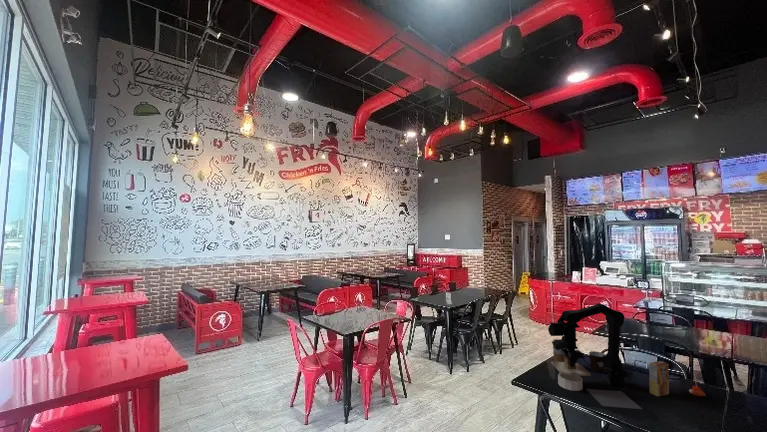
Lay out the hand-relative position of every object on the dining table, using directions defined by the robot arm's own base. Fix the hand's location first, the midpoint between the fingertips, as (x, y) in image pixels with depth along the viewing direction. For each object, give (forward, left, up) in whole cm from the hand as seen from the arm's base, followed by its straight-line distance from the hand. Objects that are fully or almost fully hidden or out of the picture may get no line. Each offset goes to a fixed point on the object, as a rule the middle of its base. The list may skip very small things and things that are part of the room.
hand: (570, 365), depth 176 cm
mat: (-15, +11, -11) cm, 22 cm away
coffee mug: (-23, -24, -11) cm, 35 cm away
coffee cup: (-5, -27, -11) cm, 30 cm away
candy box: (-42, +1, -11) cm, 43 cm away
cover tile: (0, 0, -2) cm, 2 cm away
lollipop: (-60, 0, -11) cm, 61 cm away
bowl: (0, 0, -11) cm, 11 cm away
